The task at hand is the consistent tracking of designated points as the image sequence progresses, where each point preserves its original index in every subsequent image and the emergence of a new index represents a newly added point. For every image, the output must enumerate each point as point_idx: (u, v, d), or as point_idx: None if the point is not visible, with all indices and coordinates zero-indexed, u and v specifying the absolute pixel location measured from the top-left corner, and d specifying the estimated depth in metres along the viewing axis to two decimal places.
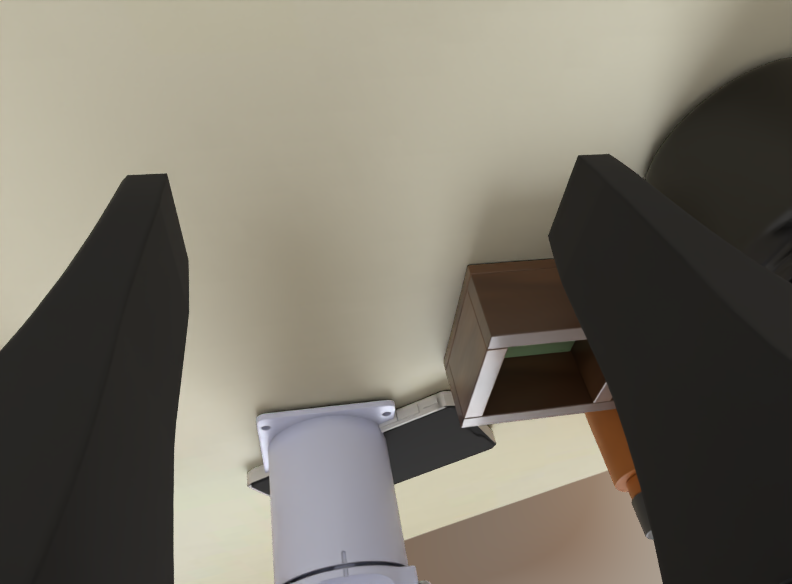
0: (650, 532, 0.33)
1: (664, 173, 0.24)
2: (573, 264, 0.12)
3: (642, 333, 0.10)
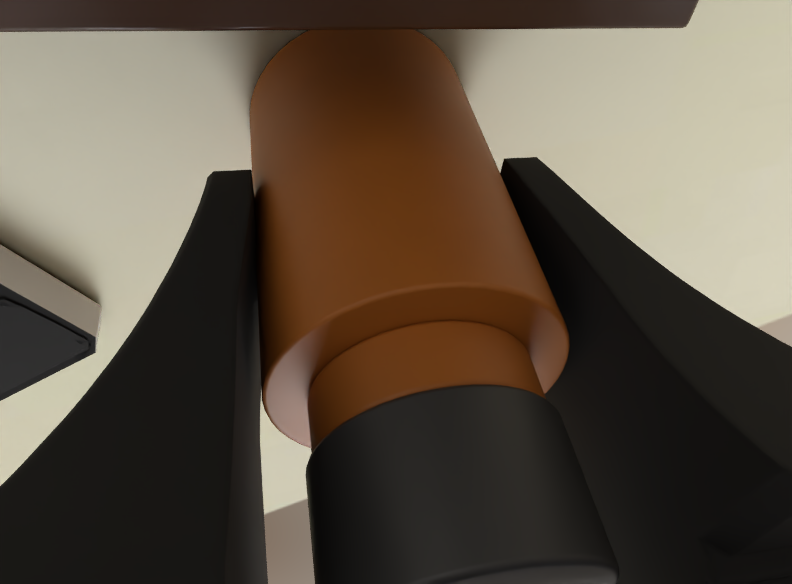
0: None
1: None
2: None
3: None
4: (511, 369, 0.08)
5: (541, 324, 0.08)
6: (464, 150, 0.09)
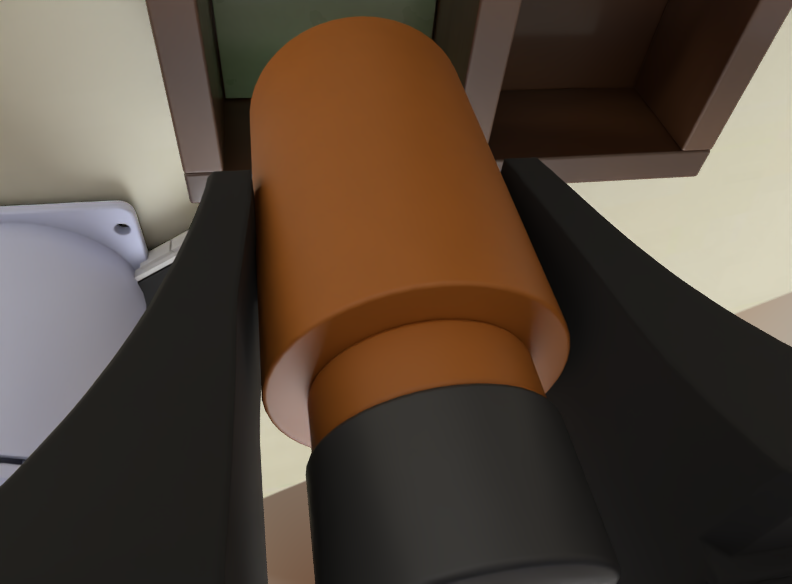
0: None
1: None
2: None
3: None
4: (512, 368, 0.07)
5: (542, 323, 0.08)
6: (464, 148, 0.09)
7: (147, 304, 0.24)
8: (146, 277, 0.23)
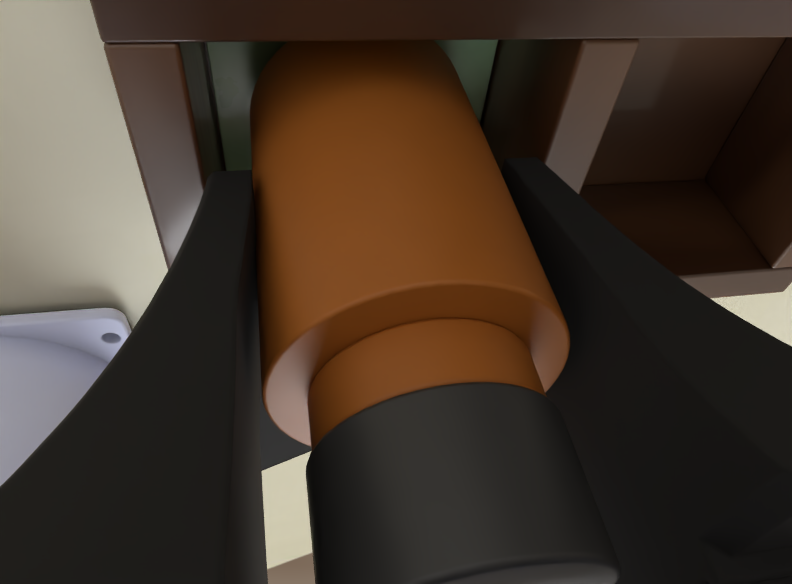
0: None
1: None
2: None
3: None
4: (512, 367, 0.07)
5: (542, 322, 0.08)
6: (464, 148, 0.09)
7: None
8: None
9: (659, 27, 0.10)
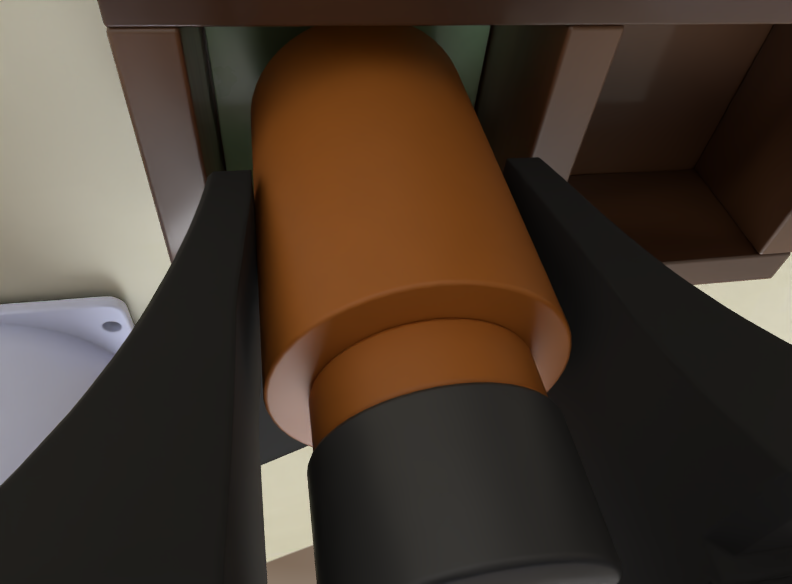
0: None
1: None
2: None
3: None
4: (513, 367, 0.07)
5: (543, 322, 0.08)
6: (465, 148, 0.09)
7: None
8: None
9: (643, 13, 0.10)
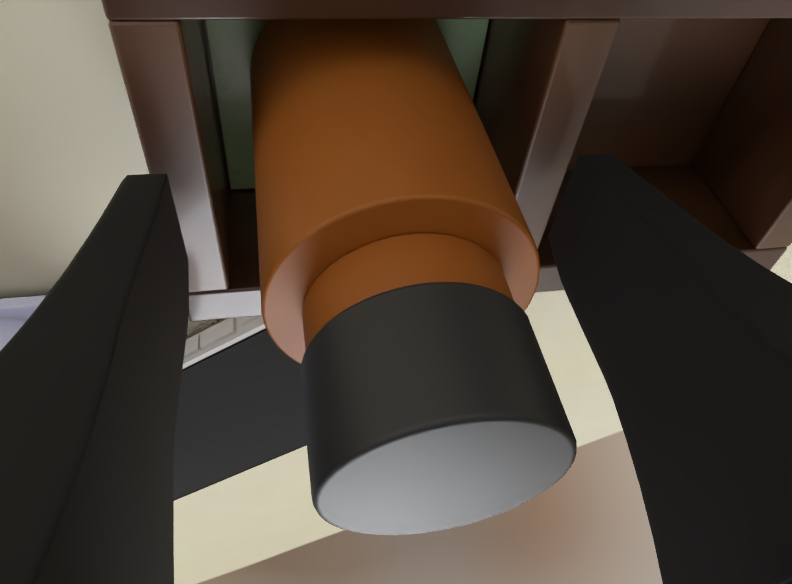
0: (322, 502, 0.08)
1: None
2: (574, 264, 0.12)
3: (642, 333, 0.10)
4: (483, 274, 0.08)
5: (512, 241, 0.09)
6: (445, 91, 0.10)
7: None
8: None
9: (639, 7, 0.10)
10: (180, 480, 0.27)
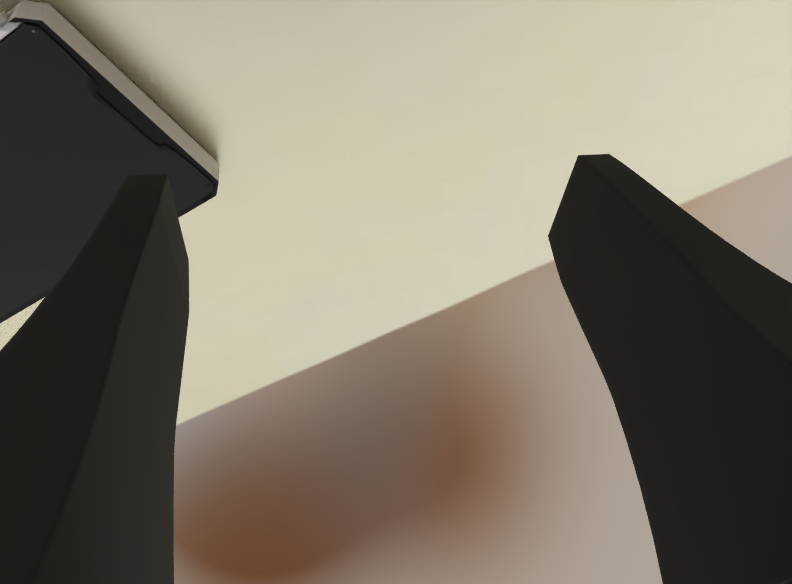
0: None
1: None
2: (574, 264, 0.12)
3: (642, 333, 0.10)
4: None
5: None
6: None
7: None
8: None
9: None
10: None
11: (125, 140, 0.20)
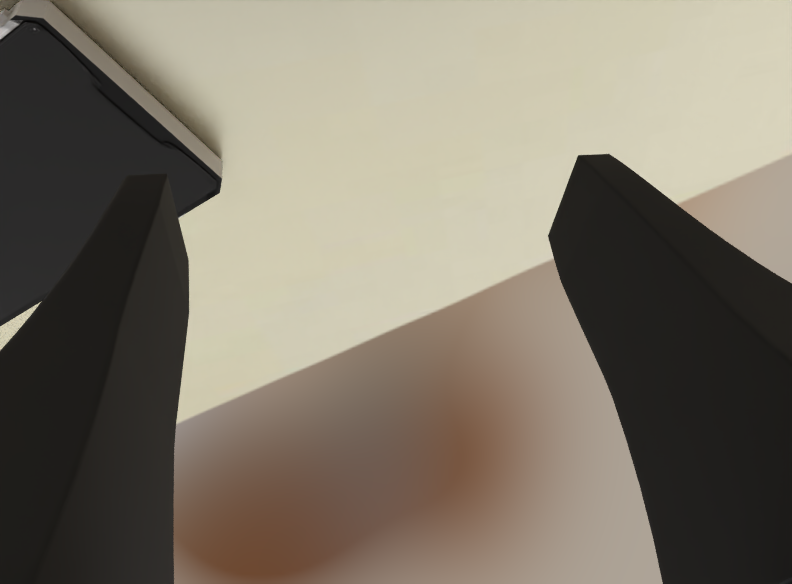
0: None
1: None
2: (574, 264, 0.12)
3: (642, 333, 0.10)
4: None
5: None
6: None
7: None
8: None
9: None
10: None
11: (128, 138, 0.20)
